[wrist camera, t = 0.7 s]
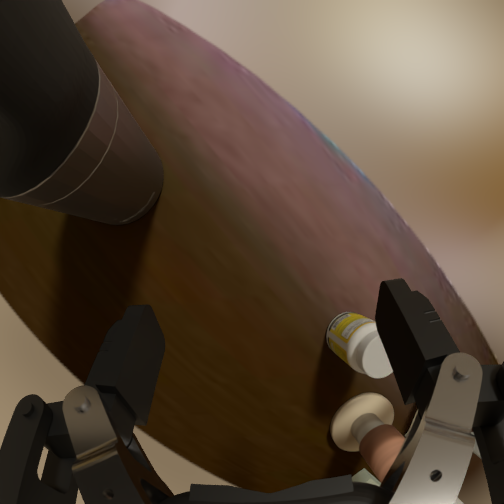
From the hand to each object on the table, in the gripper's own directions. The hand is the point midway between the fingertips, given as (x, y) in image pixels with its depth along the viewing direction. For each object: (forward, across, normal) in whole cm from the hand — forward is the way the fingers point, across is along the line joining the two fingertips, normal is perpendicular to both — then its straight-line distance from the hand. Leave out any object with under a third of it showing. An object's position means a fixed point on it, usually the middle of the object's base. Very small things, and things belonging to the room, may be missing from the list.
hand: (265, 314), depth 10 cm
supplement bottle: (+14, -7, +17) cm, 23 cm away
